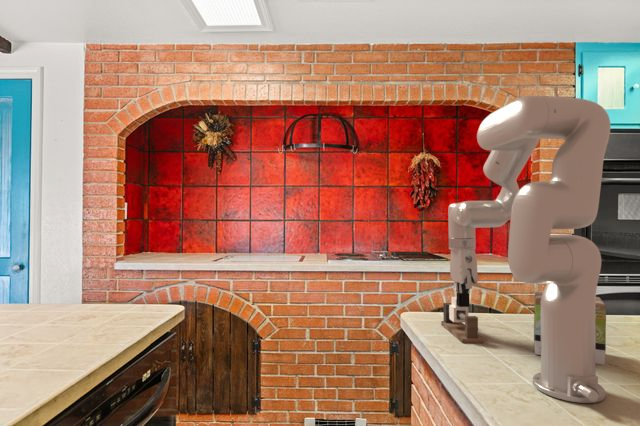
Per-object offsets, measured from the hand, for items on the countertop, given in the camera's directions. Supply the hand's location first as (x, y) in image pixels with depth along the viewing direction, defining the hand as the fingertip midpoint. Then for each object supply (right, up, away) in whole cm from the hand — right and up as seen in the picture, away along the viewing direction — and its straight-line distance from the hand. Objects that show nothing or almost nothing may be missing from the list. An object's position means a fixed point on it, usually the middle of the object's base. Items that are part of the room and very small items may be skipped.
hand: (463, 306), depth 118 cm
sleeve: (0, -5, +4) cm, 6 cm away
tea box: (+21, -9, -16) cm, 28 cm away
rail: (0, -9, +2) cm, 9 cm away
